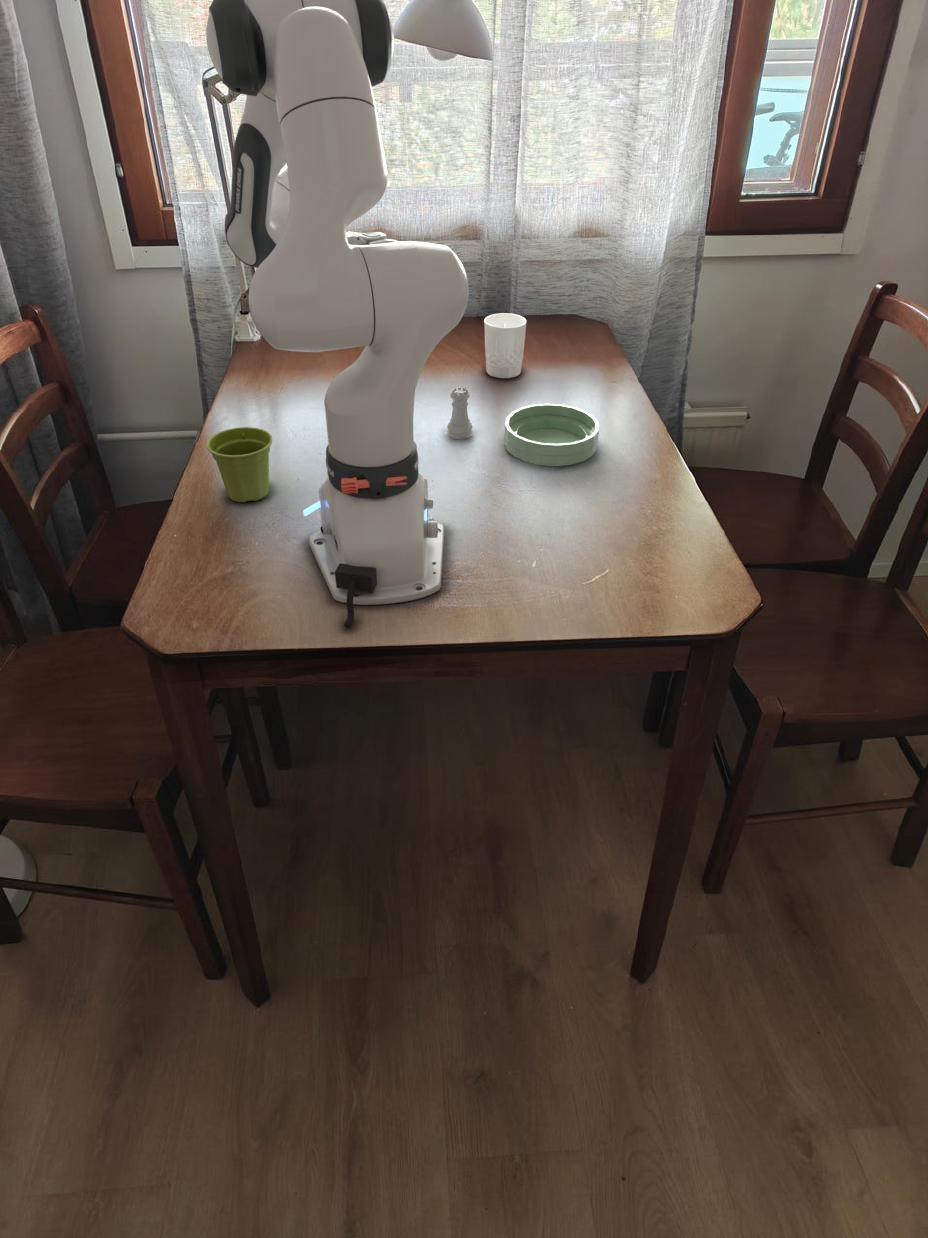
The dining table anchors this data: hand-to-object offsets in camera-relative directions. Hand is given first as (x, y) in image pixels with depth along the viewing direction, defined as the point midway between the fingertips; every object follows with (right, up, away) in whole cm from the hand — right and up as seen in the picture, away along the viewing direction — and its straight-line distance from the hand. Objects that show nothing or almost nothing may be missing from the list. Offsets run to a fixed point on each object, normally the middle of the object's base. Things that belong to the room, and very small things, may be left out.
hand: (404, 283), depth 140 cm
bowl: (+24, -25, +5) cm, 35 cm away
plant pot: (-23, -35, -8) cm, 43 cm away
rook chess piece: (+9, -23, +8) cm, 26 cm away
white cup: (+17, -6, +29) cm, 34 cm away
